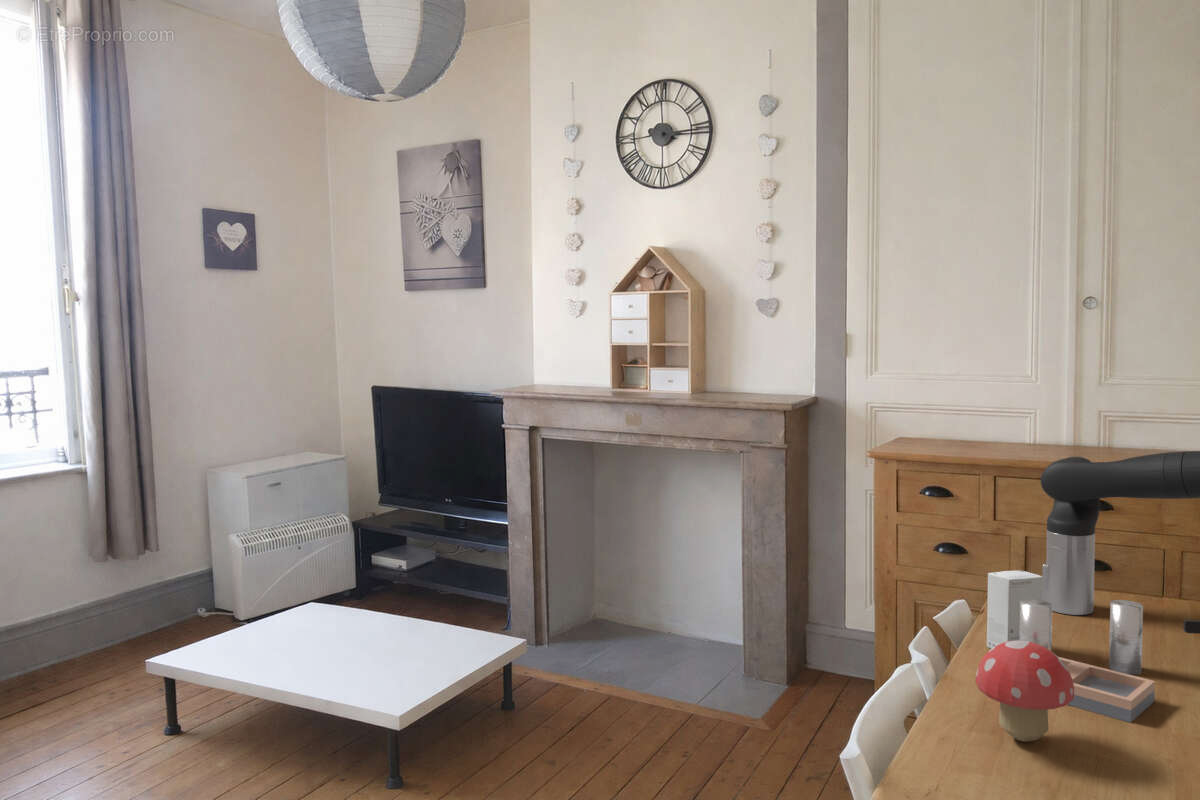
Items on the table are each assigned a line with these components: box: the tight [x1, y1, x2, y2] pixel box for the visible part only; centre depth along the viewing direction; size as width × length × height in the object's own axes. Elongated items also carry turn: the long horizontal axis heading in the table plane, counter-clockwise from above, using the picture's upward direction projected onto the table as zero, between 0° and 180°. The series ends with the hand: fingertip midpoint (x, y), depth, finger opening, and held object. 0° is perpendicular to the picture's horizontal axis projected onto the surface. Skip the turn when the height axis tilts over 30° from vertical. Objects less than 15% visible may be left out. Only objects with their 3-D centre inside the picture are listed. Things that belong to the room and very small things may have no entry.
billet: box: [1108, 599, 1144, 676], centre depth 157 cm, size 5×5×12 cm
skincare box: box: [986, 569, 1043, 650], centre depth 167 cm, size 8×6×15 cm
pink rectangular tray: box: [1057, 656, 1156, 724], centre depth 148 cm, size 22×11×4 cm, turn 41°
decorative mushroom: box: [974, 640, 1074, 743], centre depth 131 cm, size 13×13×15 cm
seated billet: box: [1020, 599, 1053, 652], centre depth 152 cm, size 5×5×12 cm
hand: (1194, 634), depth 154 cm, fingers open, 8 cm apart
